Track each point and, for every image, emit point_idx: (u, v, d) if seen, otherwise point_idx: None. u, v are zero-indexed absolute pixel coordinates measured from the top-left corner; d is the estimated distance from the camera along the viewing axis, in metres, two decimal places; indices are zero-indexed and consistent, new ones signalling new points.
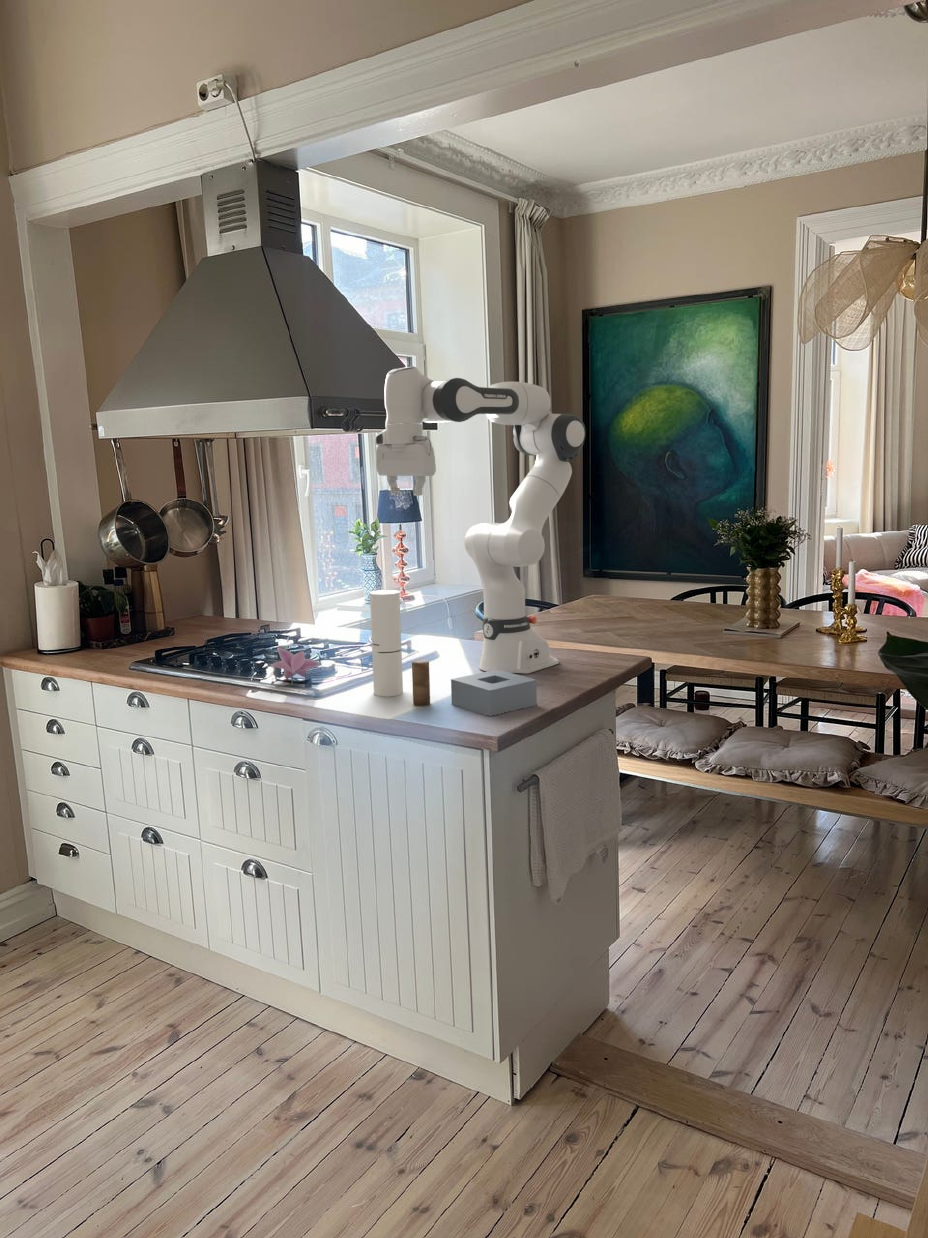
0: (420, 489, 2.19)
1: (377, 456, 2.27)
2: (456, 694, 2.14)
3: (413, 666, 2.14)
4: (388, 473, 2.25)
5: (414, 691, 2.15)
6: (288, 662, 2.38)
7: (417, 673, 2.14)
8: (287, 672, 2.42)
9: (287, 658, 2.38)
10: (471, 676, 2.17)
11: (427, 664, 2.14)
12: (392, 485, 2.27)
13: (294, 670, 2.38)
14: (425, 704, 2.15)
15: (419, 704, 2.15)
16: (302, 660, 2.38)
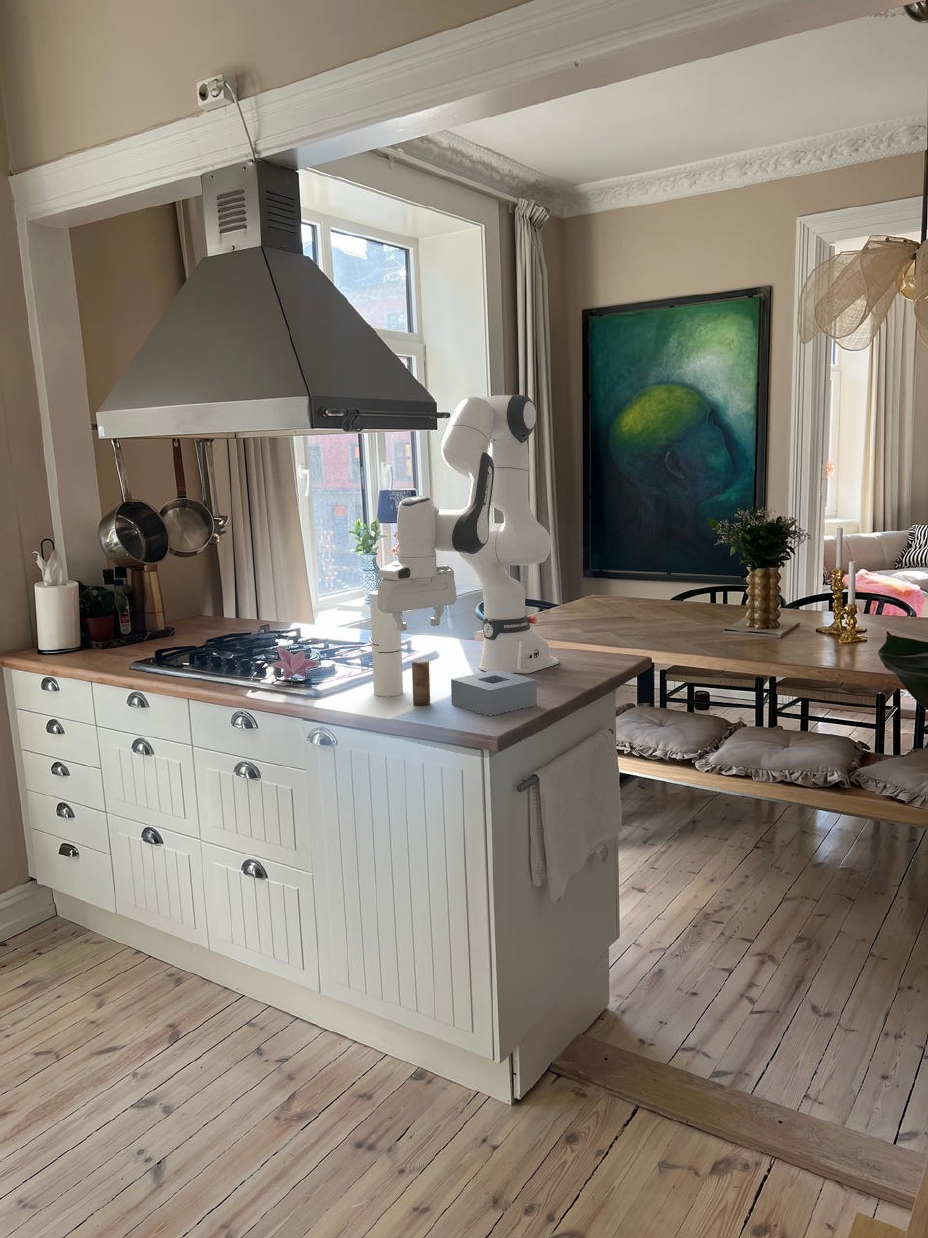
0: None
1: (391, 592, 2.05)
2: (456, 694, 2.14)
3: (413, 666, 2.14)
4: (405, 609, 2.08)
5: (414, 691, 2.15)
6: (288, 662, 2.38)
7: (417, 673, 2.14)
8: (287, 671, 2.42)
9: (286, 658, 2.38)
10: (471, 676, 2.17)
11: (427, 664, 2.14)
12: None
13: (294, 670, 2.38)
14: (425, 704, 2.15)
15: (419, 704, 2.15)
16: (301, 660, 2.38)
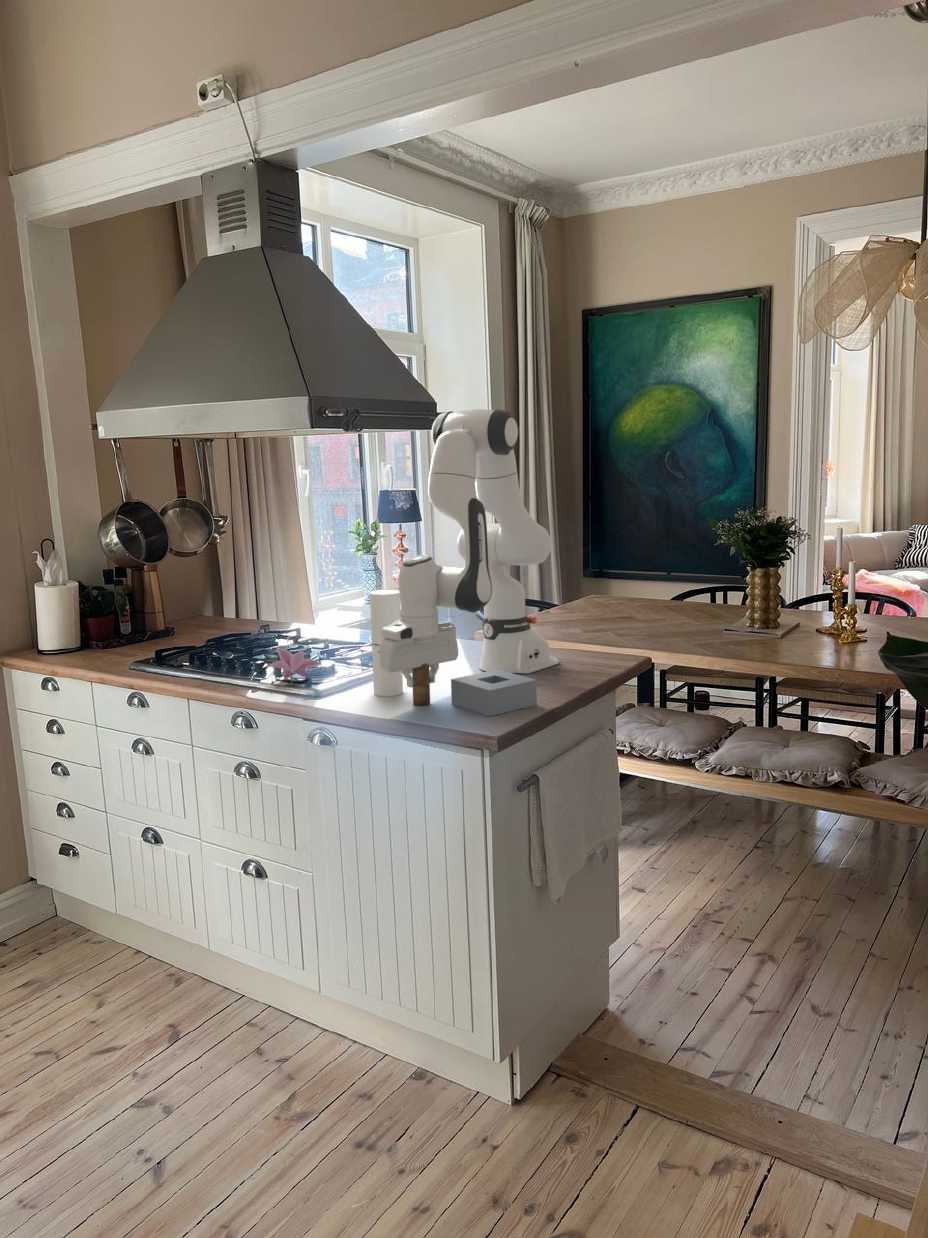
0: None
1: (394, 652, 2.08)
2: (456, 694, 2.14)
3: None
4: (408, 667, 2.11)
5: (414, 691, 2.15)
6: (287, 662, 2.38)
7: (417, 673, 2.14)
8: (287, 671, 2.42)
9: (286, 658, 2.38)
10: (471, 676, 2.17)
11: (427, 664, 2.14)
12: None
13: (293, 670, 2.38)
14: (425, 704, 2.15)
15: (419, 704, 2.15)
16: (301, 660, 2.38)
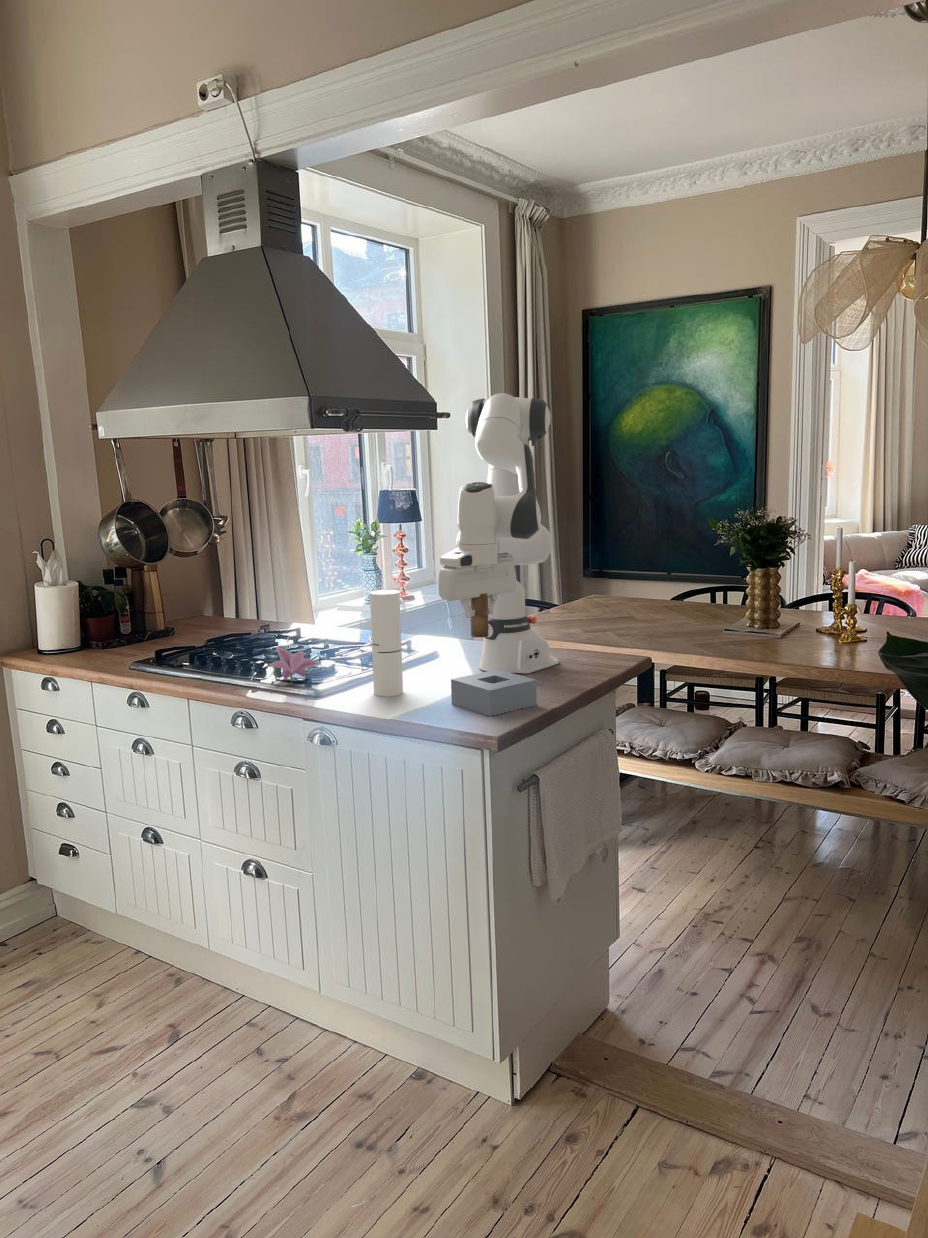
0: None
1: (454, 580, 2.03)
2: (456, 694, 2.14)
3: None
4: (467, 596, 2.06)
5: (472, 622, 2.11)
6: (287, 661, 2.39)
7: (476, 603, 2.09)
8: (286, 671, 2.43)
9: (286, 658, 2.38)
10: (471, 676, 2.17)
11: (486, 594, 2.10)
12: None
13: (293, 669, 2.38)
14: (484, 635, 2.11)
15: (477, 635, 2.10)
16: (301, 660, 2.38)
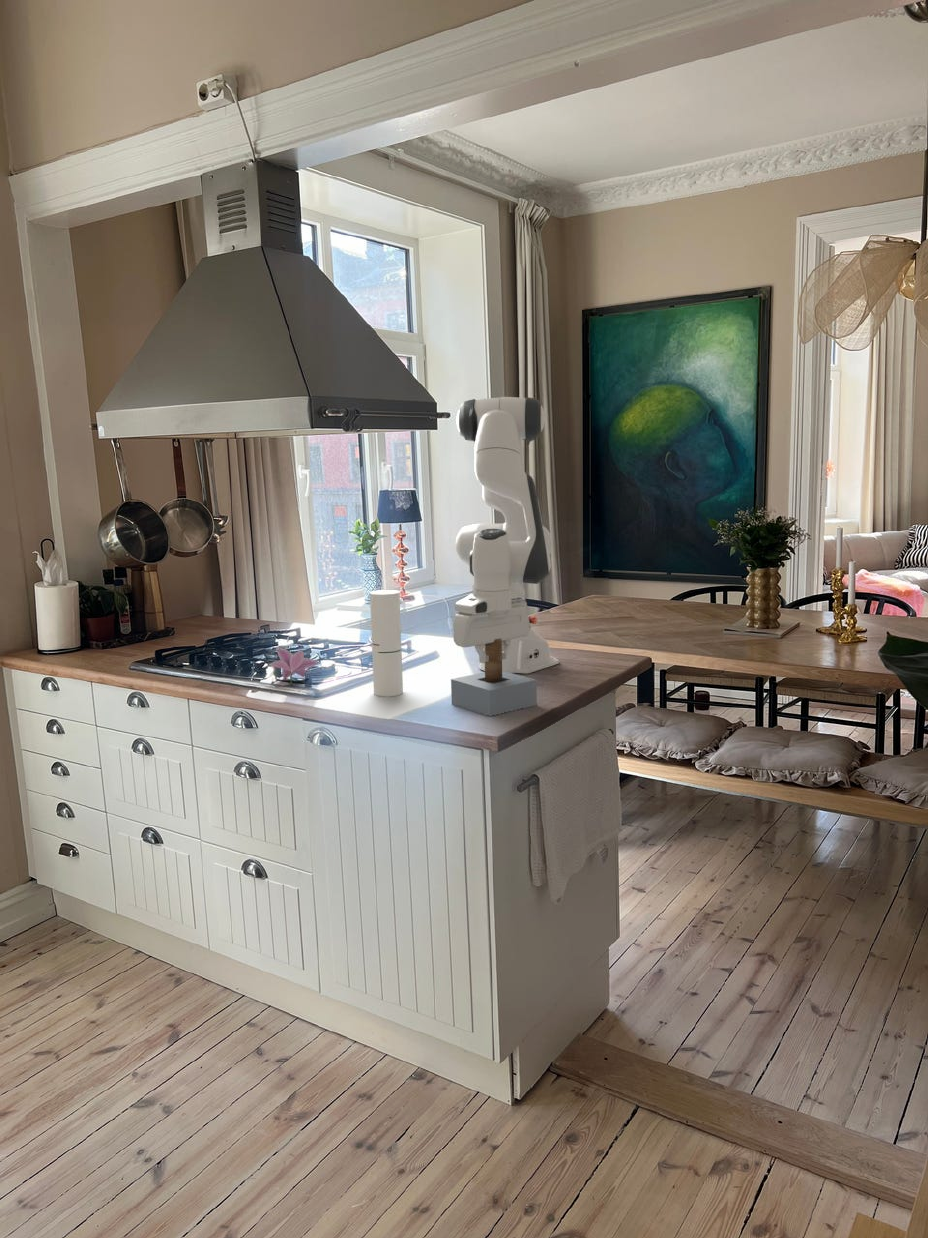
0: None
1: (469, 627, 2.04)
2: (456, 694, 2.14)
3: None
4: (481, 642, 2.08)
5: (486, 667, 2.12)
6: (287, 661, 2.39)
7: (491, 649, 2.11)
8: (286, 671, 2.43)
9: (285, 658, 2.39)
10: (471, 676, 2.17)
11: (500, 640, 2.11)
12: None
13: (293, 669, 2.38)
14: (498, 680, 2.12)
15: (492, 680, 2.12)
16: (300, 659, 2.38)
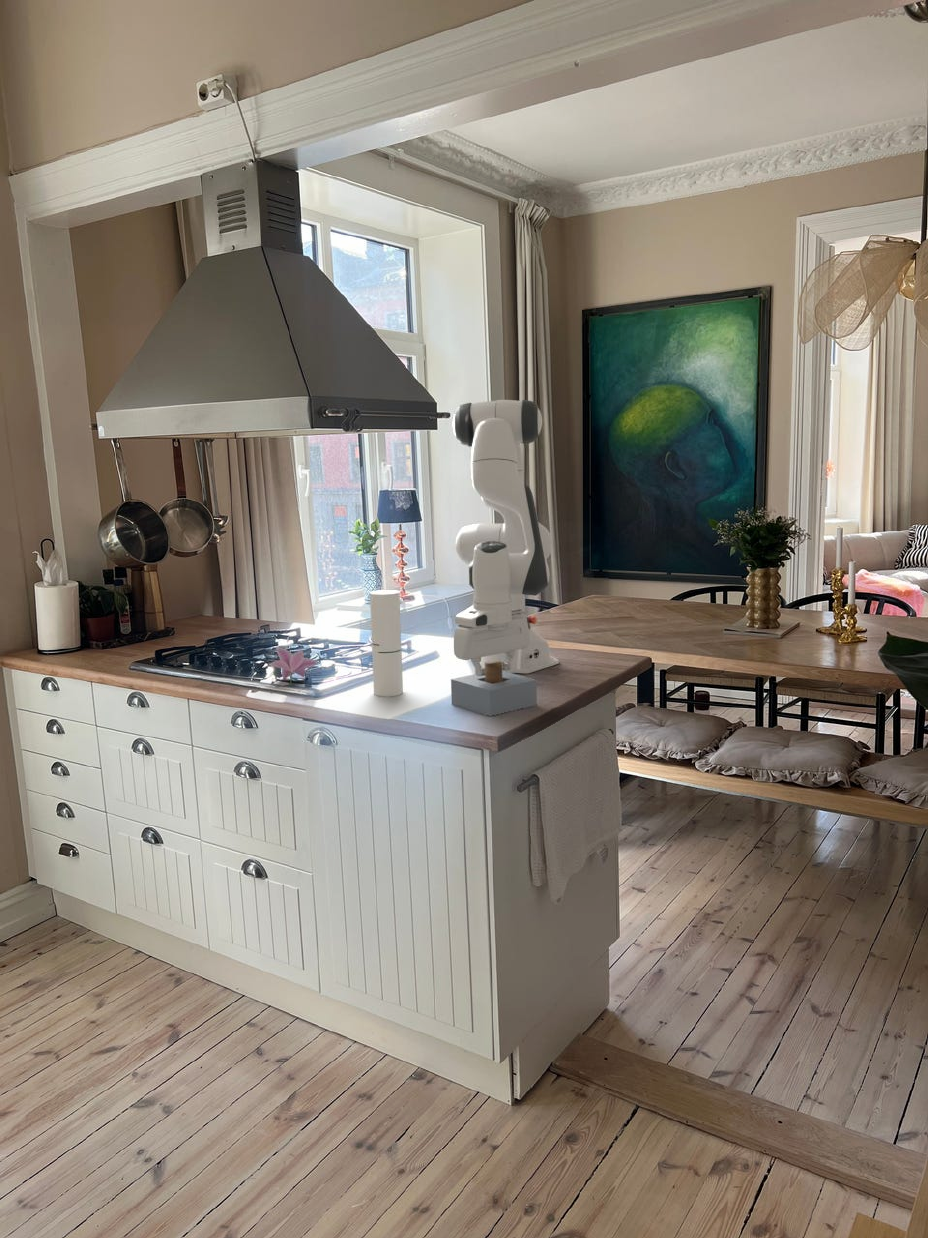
0: None
1: (469, 640, 2.05)
2: (456, 694, 2.14)
3: (486, 666, 2.12)
4: (482, 655, 2.08)
5: None
6: (287, 661, 2.39)
7: (491, 674, 2.12)
8: (286, 671, 2.43)
9: (285, 658, 2.39)
10: (471, 676, 2.17)
11: (501, 665, 2.12)
12: None
13: (293, 669, 2.39)
14: None
15: None
16: (300, 659, 2.39)
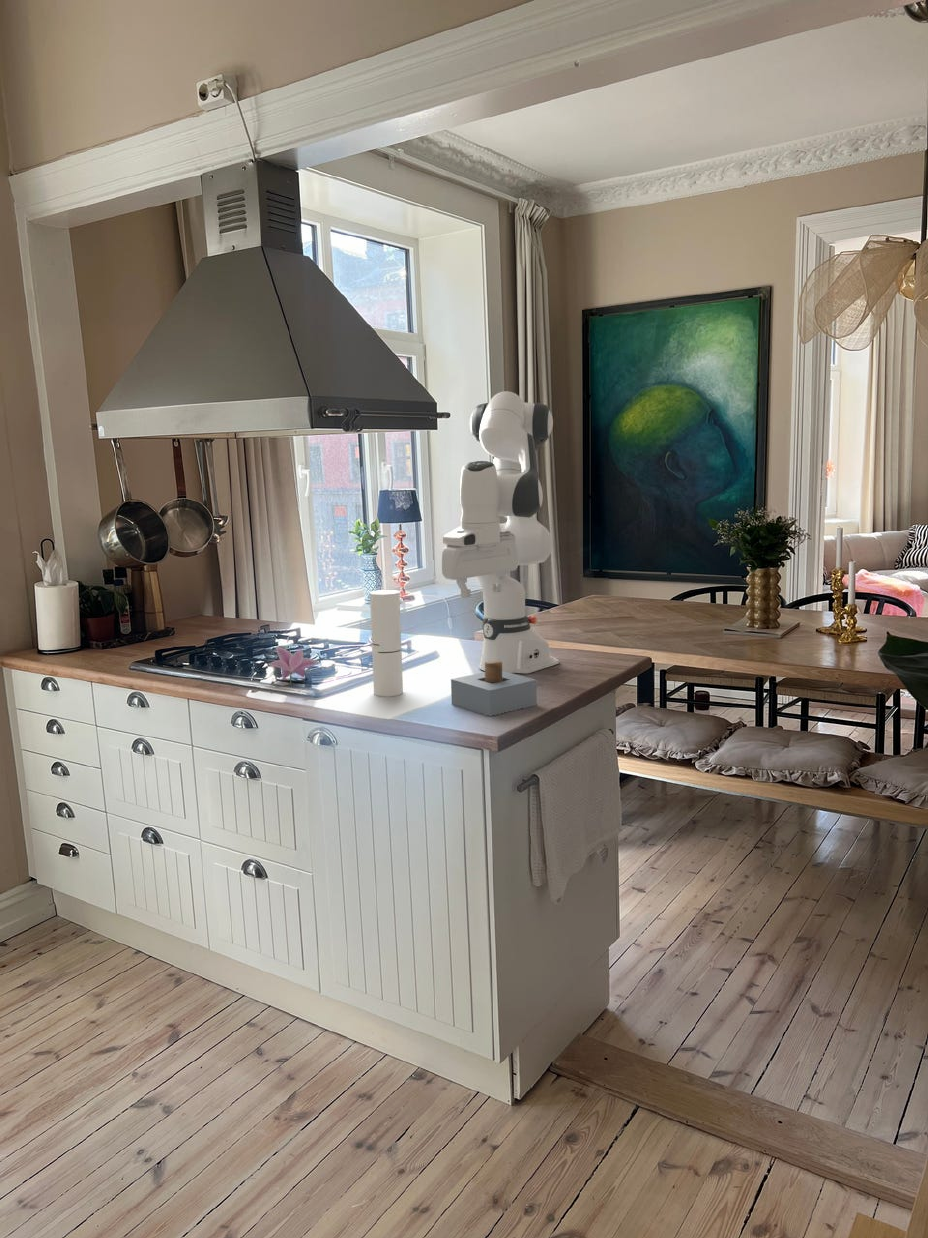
0: None
1: (457, 559, 2.04)
2: (456, 694, 2.14)
3: (486, 666, 2.12)
4: (470, 575, 2.07)
5: None
6: (286, 661, 2.39)
7: (491, 674, 2.12)
8: (285, 671, 2.43)
9: (285, 657, 2.39)
10: (471, 676, 2.17)
11: (501, 665, 2.12)
12: None
13: (292, 669, 2.39)
14: None
15: None
16: (300, 659, 2.39)
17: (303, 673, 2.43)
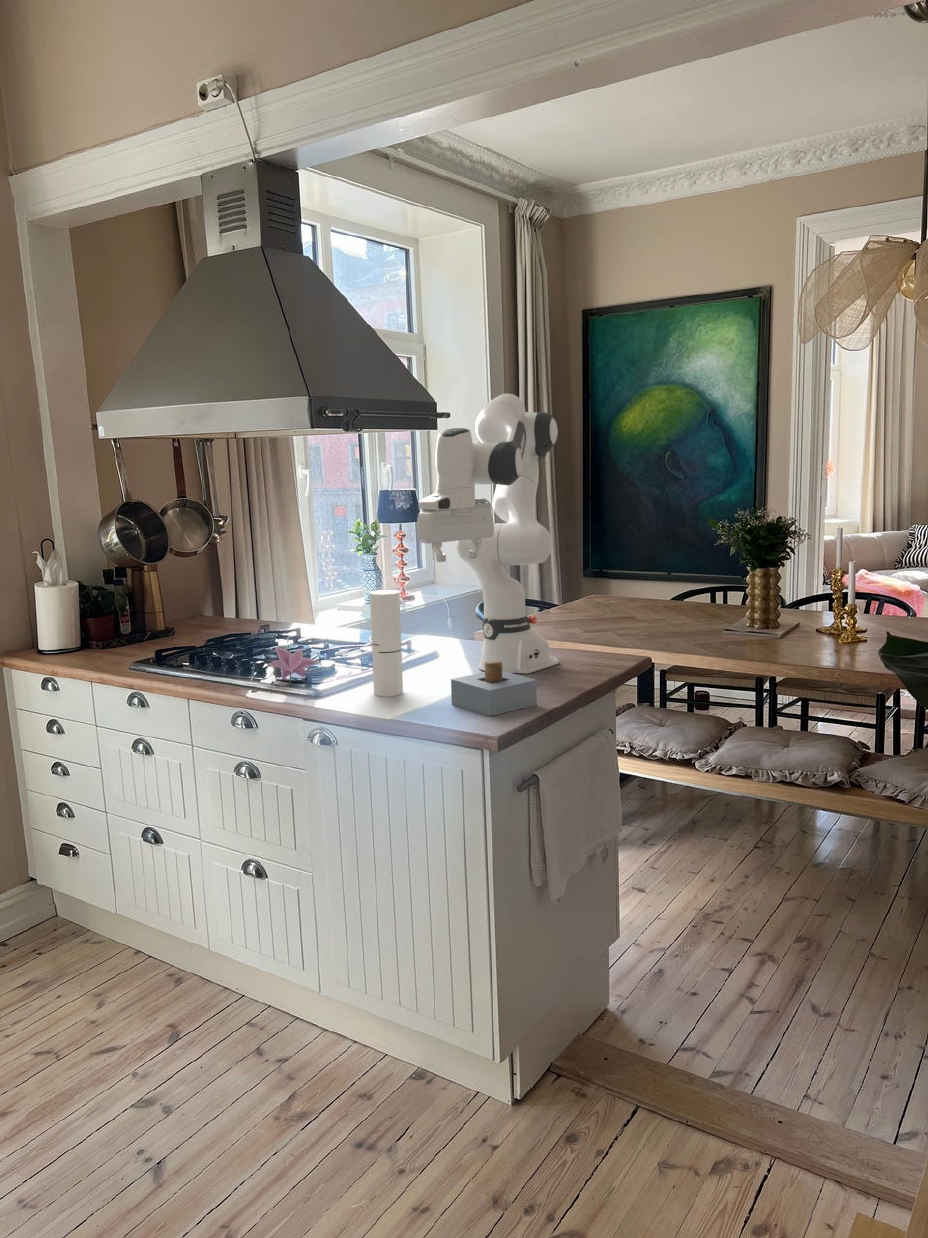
0: None
1: (432, 522, 2.07)
2: (456, 694, 2.14)
3: (486, 666, 2.12)
4: (445, 539, 2.10)
5: None
6: (286, 661, 2.39)
7: (491, 674, 2.12)
8: (285, 671, 2.43)
9: (284, 657, 2.39)
10: (471, 676, 2.17)
11: (501, 665, 2.12)
12: None
13: (292, 669, 2.39)
14: None
15: None
16: (300, 659, 2.39)
17: (303, 673, 2.43)
